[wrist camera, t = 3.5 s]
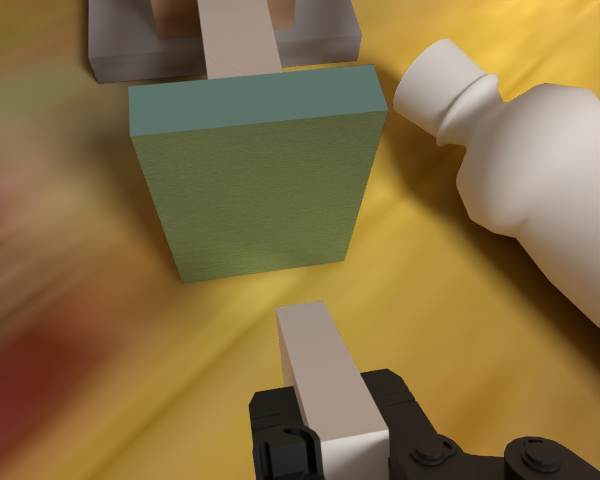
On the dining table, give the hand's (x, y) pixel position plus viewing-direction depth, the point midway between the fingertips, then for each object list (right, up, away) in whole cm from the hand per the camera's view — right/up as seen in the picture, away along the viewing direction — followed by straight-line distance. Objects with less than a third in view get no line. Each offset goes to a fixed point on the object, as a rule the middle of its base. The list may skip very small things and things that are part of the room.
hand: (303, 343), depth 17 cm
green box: (-3, +10, +13) cm, 17 cm away
